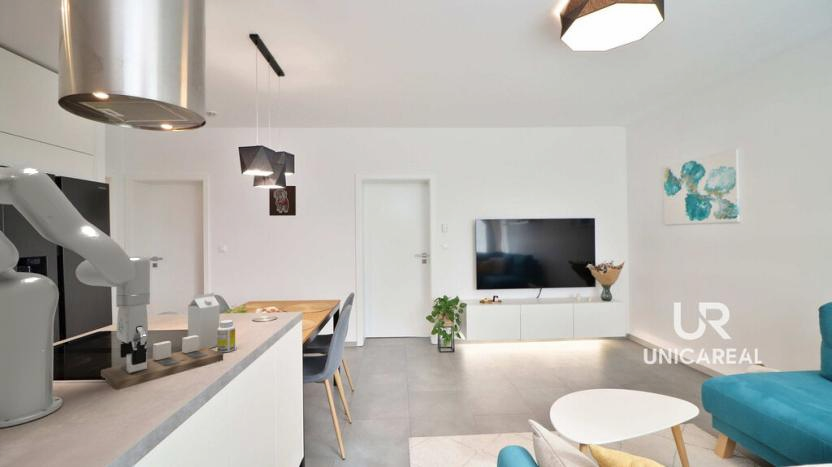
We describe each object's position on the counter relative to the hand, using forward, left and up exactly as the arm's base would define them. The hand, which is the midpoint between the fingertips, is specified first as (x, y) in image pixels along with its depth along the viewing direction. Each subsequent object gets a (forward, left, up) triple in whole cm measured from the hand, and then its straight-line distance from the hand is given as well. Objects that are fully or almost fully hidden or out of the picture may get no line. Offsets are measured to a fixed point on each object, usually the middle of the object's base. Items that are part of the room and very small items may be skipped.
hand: (133, 359), depth 101 cm
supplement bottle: (+27, +1, -5) cm, 27 cm away
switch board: (+8, -1, -5) cm, 9 cm away
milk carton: (+24, +11, -5) cm, 27 cm away
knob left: (0, -3, -2) cm, 4 cm away
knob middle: (+8, +2, -2) cm, 9 cm away
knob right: (+16, +2, -2) cm, 16 cm away
